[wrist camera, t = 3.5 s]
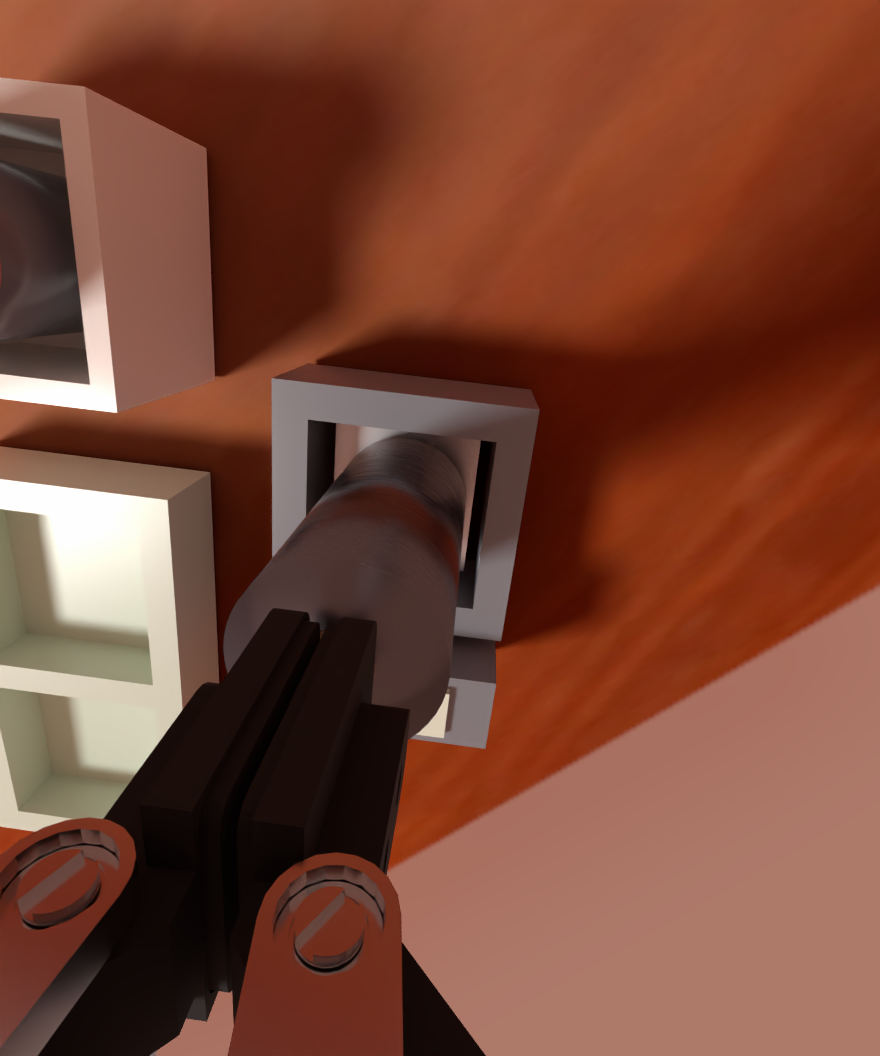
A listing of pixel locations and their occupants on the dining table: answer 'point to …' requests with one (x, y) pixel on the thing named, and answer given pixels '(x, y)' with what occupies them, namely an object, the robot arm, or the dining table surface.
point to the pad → (454, 448)
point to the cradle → (431, 408)
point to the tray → (96, 625)
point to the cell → (376, 570)
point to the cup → (100, 252)
